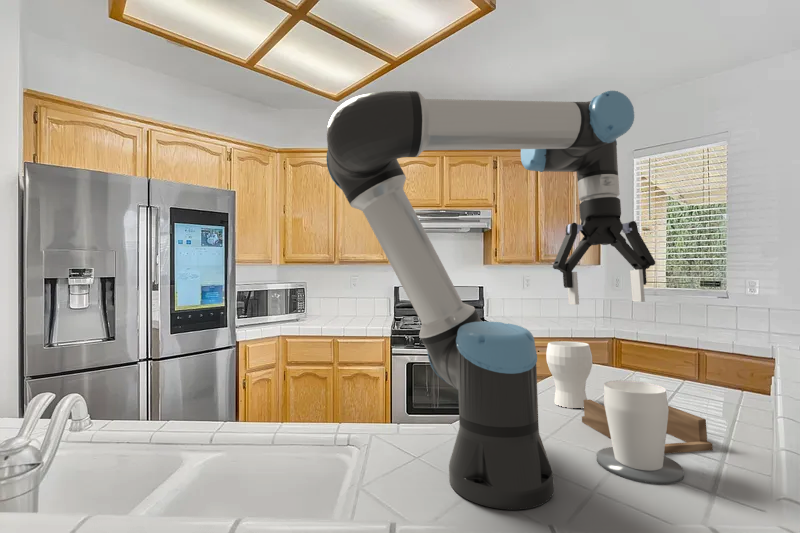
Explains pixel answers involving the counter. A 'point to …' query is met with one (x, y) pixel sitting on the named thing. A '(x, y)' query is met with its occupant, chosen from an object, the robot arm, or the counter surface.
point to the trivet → (665, 475)
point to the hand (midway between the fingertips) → (606, 303)
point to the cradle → (677, 426)
